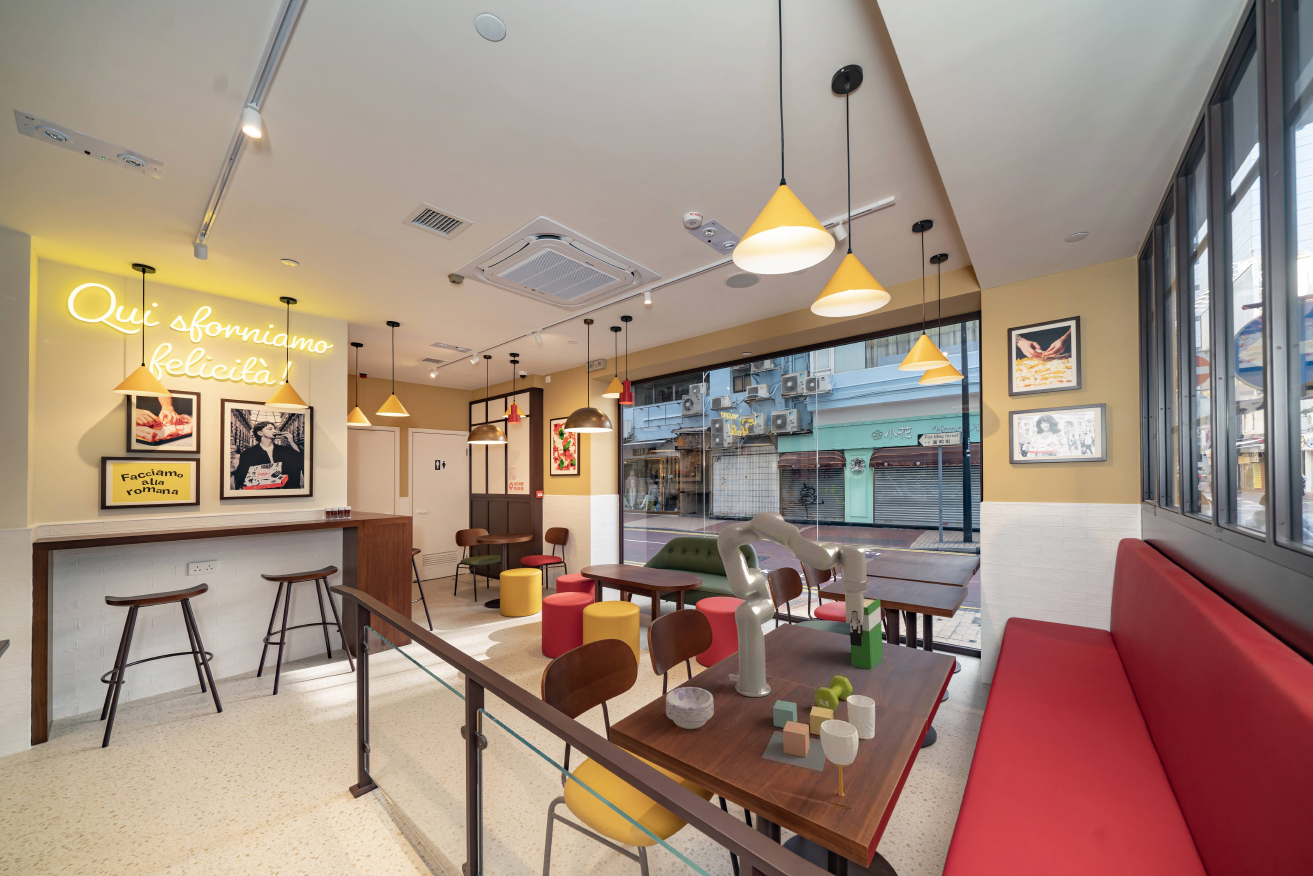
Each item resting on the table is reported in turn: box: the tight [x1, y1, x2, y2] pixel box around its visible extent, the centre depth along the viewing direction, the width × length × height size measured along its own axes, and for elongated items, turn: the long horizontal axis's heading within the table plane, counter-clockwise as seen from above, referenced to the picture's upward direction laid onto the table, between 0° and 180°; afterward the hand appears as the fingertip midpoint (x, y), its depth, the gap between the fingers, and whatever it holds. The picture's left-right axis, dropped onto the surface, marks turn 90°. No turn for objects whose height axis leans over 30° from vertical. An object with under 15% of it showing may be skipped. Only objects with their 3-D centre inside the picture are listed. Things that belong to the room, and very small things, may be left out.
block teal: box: [772, 699, 798, 729], centre depth 158 cm, size 6×6×6 cm
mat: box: [761, 730, 827, 773], centre depth 142 cm, size 16×16×1 cm
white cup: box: [846, 694, 876, 740], centre depth 151 cm, size 8×8×10 cm
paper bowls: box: [665, 686, 715, 730], centre depth 161 cm, size 15×15×8 cm
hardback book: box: [849, 596, 884, 671], centre depth 210 cm, size 18×7×24 cm, turn 142°
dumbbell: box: [813, 674, 854, 713], centre depth 171 cm, size 16×8×7 cm, turn 138°
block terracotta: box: [782, 721, 810, 757], centre depth 142 cm, size 6×6×6 cm
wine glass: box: [819, 719, 860, 810], centre depth 123 cm, size 9×9×16 cm
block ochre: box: [809, 706, 835, 736], centre depth 153 cm, size 6×6×6 cm
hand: (856, 640), depth 160 cm, fingers open, 9 cm apart
